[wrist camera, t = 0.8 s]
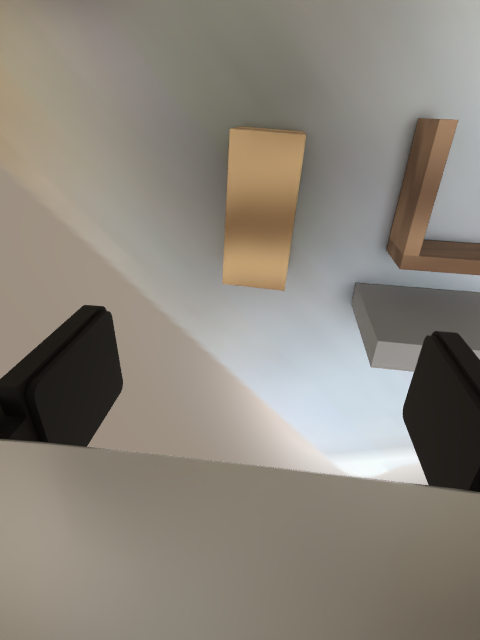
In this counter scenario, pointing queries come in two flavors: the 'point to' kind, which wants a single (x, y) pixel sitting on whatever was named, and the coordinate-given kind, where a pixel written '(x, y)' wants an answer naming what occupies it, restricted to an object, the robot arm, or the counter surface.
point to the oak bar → (261, 205)
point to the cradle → (427, 207)
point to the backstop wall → (411, 321)
